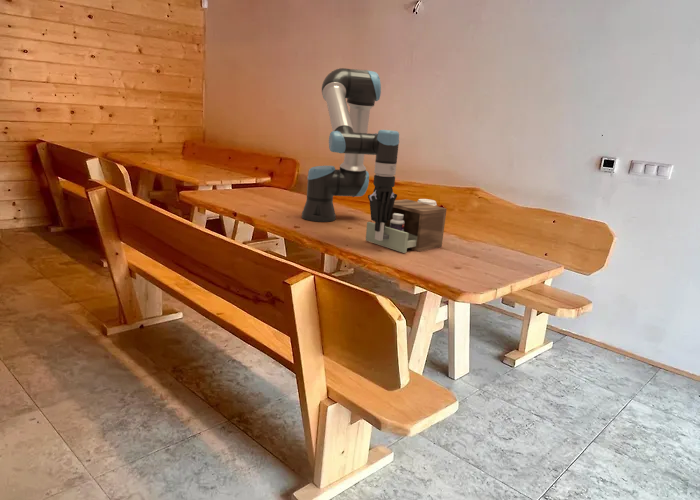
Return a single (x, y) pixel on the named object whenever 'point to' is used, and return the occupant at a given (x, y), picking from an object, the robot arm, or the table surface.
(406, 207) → the housing
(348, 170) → the robot arm
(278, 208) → the table surface
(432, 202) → the coffee cup
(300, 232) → the table surface
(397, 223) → the pill bottle
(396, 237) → the drawer
